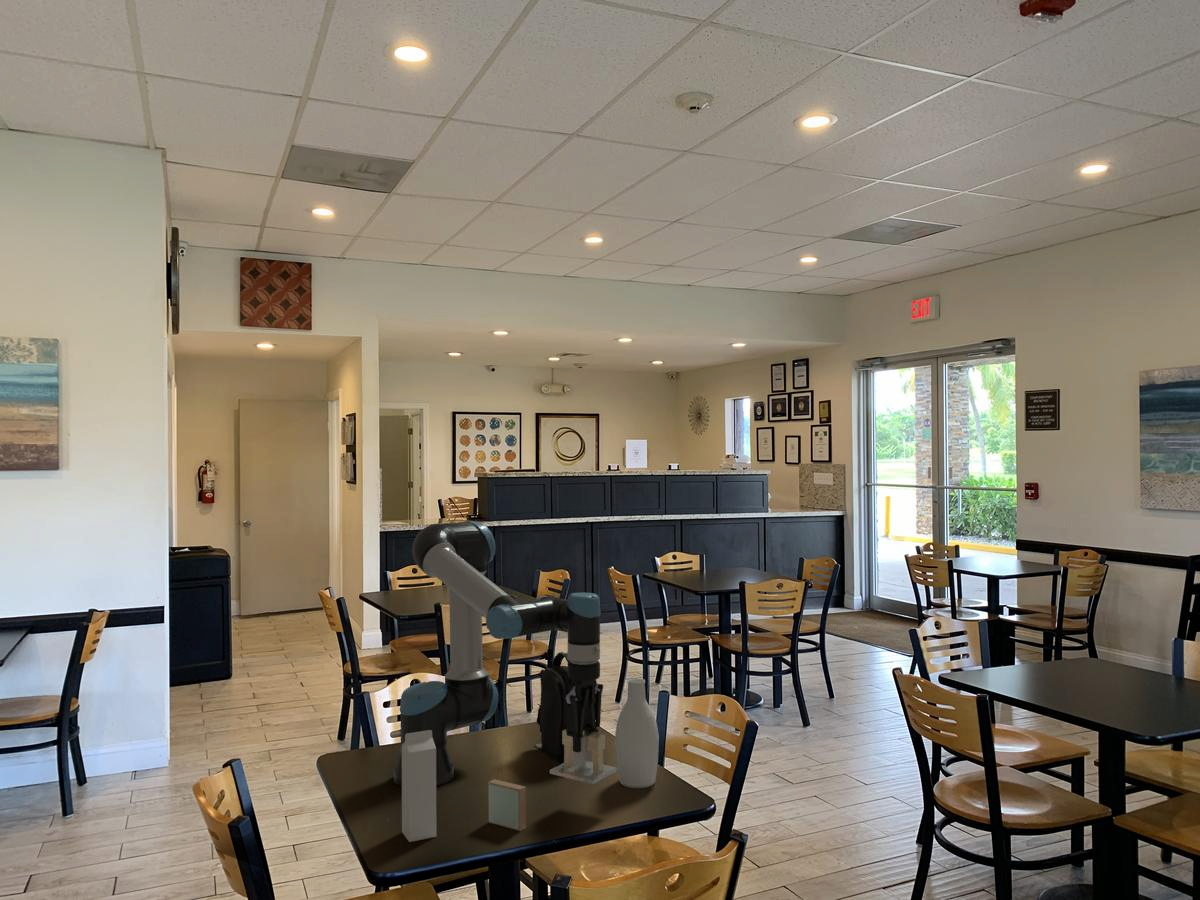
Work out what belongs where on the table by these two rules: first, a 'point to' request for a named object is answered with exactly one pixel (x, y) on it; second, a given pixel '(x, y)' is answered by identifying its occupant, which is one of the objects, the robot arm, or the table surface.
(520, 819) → the tile
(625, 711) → the bottle
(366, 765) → the table surface
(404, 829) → the milk
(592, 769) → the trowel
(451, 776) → the robot arm
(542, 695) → the shoulder bag
